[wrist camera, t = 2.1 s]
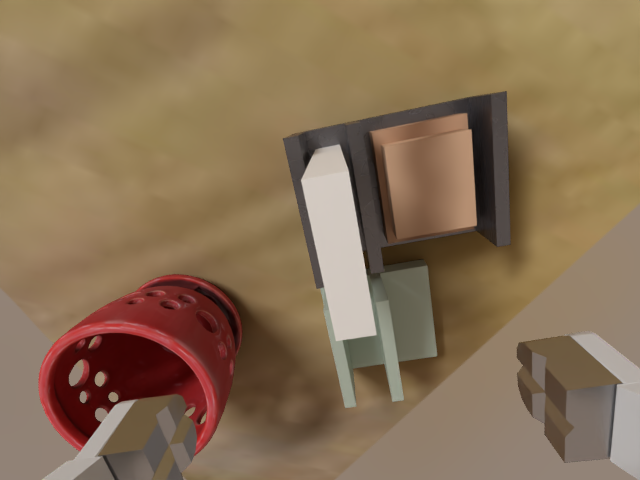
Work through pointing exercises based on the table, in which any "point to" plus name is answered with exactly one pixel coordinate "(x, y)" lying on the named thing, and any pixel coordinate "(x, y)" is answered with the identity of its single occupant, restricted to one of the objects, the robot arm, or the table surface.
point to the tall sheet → (338, 243)
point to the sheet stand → (388, 327)
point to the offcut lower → (399, 135)
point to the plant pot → (146, 356)
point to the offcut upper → (430, 183)
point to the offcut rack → (356, 147)
